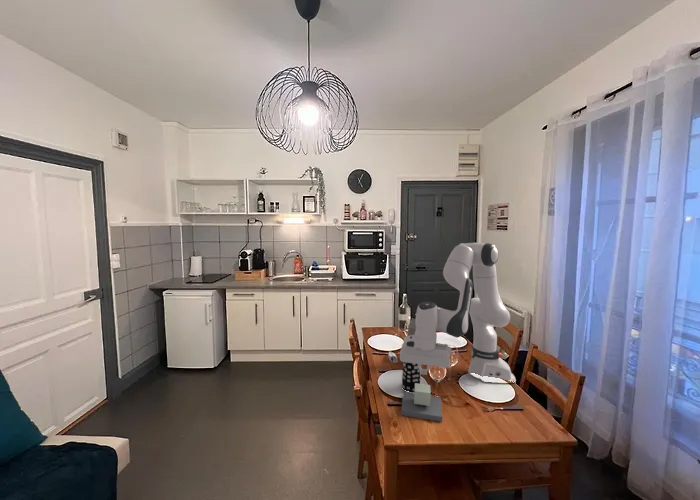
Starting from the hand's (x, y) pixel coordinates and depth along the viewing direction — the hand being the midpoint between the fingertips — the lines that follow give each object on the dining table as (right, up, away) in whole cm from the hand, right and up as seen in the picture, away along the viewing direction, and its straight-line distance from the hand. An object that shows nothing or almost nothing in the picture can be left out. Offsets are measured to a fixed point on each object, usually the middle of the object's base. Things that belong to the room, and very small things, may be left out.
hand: (423, 373), depth 131 cm
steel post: (0, -15, +1) cm, 15 cm away
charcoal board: (0, -15, +1) cm, 15 cm away
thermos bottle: (+4, -12, +40) cm, 42 cm away
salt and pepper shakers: (-3, -11, +48) cm, 50 cm away
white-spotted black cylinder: (-2, -14, +17) cm, 22 cm away
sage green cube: (0, -12, +1) cm, 12 cm away
